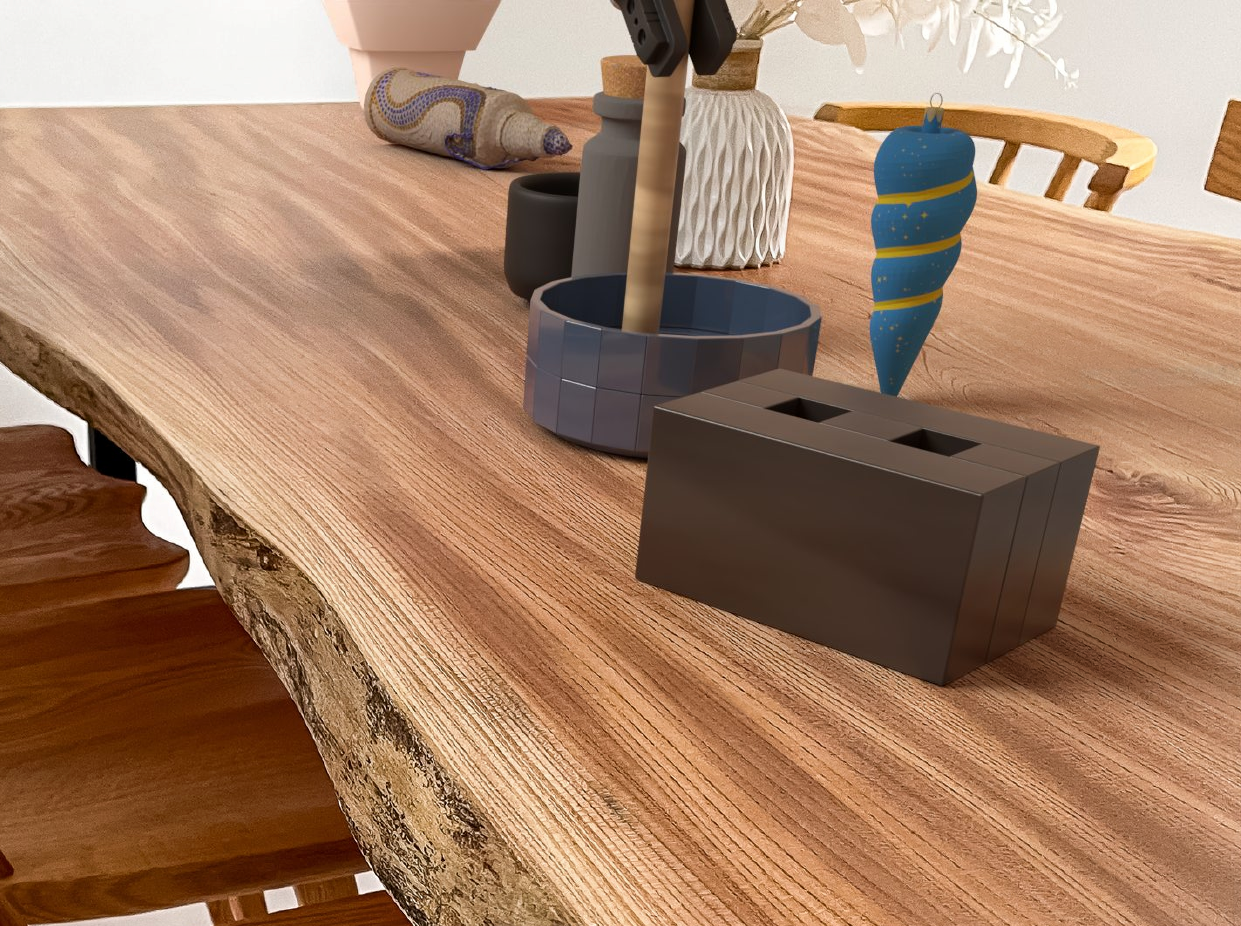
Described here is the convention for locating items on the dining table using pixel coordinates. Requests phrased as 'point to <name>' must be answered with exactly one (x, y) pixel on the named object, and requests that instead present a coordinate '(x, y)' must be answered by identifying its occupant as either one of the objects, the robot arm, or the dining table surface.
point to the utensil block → (863, 519)
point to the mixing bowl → (653, 351)
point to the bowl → (408, 34)
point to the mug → (540, 230)
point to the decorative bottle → (458, 120)
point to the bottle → (616, 173)
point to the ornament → (916, 236)
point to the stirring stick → (655, 190)
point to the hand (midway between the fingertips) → (694, 62)
